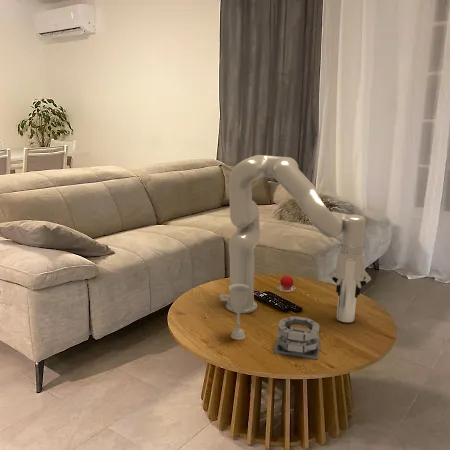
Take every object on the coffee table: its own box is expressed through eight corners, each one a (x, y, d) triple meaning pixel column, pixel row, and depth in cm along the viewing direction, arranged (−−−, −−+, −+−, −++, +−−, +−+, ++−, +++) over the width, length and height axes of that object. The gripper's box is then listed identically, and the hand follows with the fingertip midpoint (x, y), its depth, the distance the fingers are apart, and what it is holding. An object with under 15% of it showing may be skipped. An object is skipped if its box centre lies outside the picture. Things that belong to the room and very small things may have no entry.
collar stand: (273, 353, 152) (274, 331, 150) (280, 335, 164) (281, 314, 162) (316, 360, 148) (318, 337, 146) (320, 341, 161) (322, 319, 159)
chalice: (241, 342, 159) (242, 293, 155) (224, 337, 163) (224, 288, 158) (251, 334, 165) (252, 286, 161) (235, 329, 169) (235, 282, 164)
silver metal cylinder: (354, 323, 173) (361, 258, 167) (336, 321, 174) (342, 257, 168) (353, 316, 179) (359, 253, 173) (336, 314, 180) (341, 252, 174)
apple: (274, 286, 210) (275, 272, 208) (291, 285, 212) (291, 271, 210) (280, 293, 202) (281, 279, 201) (298, 291, 204) (298, 277, 203)
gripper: (327, 249, 169) (323, 296, 173) (377, 254, 164) (371, 302, 168) (328, 243, 176) (324, 289, 180) (376, 248, 171) (371, 294, 175)
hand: (347, 295), depth 174 cm, fingers closed on silver metal cylinder, 5 cm apart
